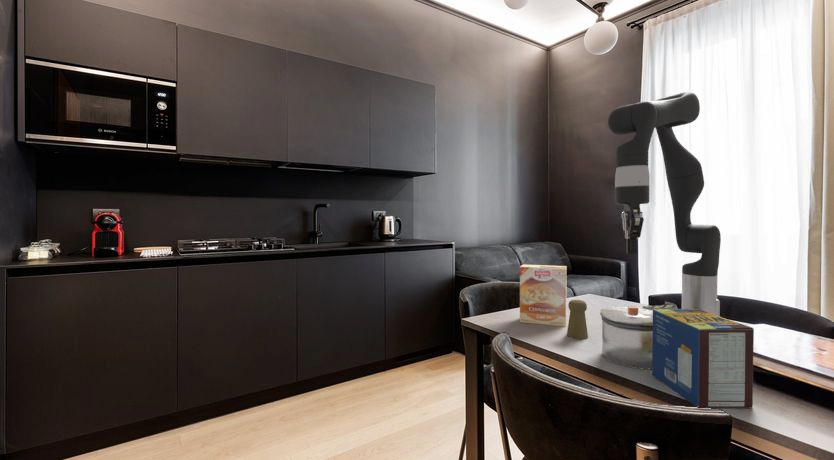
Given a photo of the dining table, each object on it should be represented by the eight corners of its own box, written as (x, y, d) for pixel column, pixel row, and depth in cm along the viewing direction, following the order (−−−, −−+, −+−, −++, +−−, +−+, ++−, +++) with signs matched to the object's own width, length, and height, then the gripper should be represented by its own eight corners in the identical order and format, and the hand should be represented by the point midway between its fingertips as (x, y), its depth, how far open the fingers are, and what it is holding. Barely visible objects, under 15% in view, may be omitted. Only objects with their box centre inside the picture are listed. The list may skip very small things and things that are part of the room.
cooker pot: (656, 351, 103) (657, 314, 102) (673, 372, 89) (674, 330, 89) (598, 345, 107) (598, 310, 107) (605, 365, 94) (605, 325, 93)
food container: (662, 346, 107) (663, 310, 106) (641, 339, 112) (641, 306, 112) (687, 338, 112) (687, 305, 112) (665, 333, 118) (666, 301, 117)
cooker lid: (658, 312, 102) (658, 302, 102) (676, 327, 88) (676, 316, 88) (596, 308, 107) (596, 299, 107) (604, 322, 93) (604, 312, 93)
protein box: (696, 374, 88) (697, 308, 87) (753, 409, 72) (755, 328, 72) (650, 374, 88) (651, 308, 87) (697, 408, 72) (699, 328, 72)
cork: (590, 339, 113) (590, 302, 112) (568, 338, 114) (568, 302, 113) (585, 333, 118) (585, 298, 118) (565, 332, 120) (565, 297, 119)
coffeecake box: (519, 322, 131) (519, 266, 130) (522, 317, 138) (522, 263, 137) (566, 327, 125) (566, 268, 125) (566, 321, 132) (566, 265, 131)
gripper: (656, 182, 88) (656, 257, 89) (642, 186, 100) (642, 251, 101) (620, 184, 90) (620, 256, 91) (610, 187, 103) (610, 251, 104)
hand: (631, 253), depth 96 cm, fingers closed
